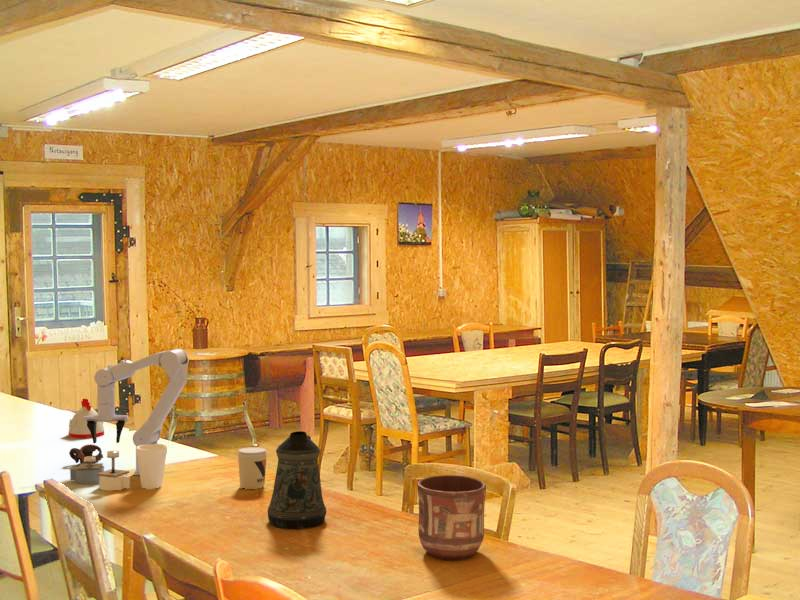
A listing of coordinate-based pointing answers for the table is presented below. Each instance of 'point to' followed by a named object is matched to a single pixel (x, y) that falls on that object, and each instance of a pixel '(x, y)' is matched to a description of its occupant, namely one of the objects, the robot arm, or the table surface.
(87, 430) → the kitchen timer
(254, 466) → the coffee cup
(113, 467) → the cream pot plunger
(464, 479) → the pottery
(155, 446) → the foam cup
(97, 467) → the gray faceted block
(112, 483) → the cream boxy piece
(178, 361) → the robot arm
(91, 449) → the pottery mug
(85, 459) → the metal bulb with stem
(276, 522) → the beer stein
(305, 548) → the table surface
